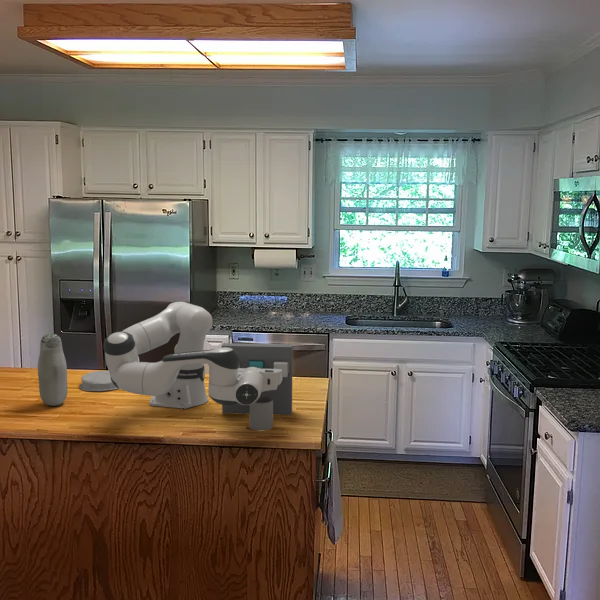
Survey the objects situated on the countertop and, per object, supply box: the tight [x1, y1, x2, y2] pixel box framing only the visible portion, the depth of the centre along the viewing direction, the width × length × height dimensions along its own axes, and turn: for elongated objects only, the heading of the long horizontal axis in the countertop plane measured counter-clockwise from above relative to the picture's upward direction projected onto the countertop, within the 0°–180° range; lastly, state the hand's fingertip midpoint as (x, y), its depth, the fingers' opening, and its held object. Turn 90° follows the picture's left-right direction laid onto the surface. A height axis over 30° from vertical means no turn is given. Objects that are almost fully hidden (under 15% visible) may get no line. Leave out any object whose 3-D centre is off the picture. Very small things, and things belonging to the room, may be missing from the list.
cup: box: [249, 396, 274, 431], centre depth 226 cm, size 8×8×10 cm
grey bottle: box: [37, 333, 69, 407], centre depth 244 cm, size 10×10×28 cm
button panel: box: [220, 342, 294, 416], centre depth 238 cm, size 26×4×26 cm, turn 88°
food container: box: [79, 370, 119, 392], centre depth 271 cm, size 20×20×7 cm
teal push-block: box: [249, 360, 264, 369], centre depth 237 cm, size 5×6×5 cm
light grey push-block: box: [274, 361, 289, 377], centre depth 235 cm, size 5×6×5 cm
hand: (256, 369), depth 234 cm, fingers closed
